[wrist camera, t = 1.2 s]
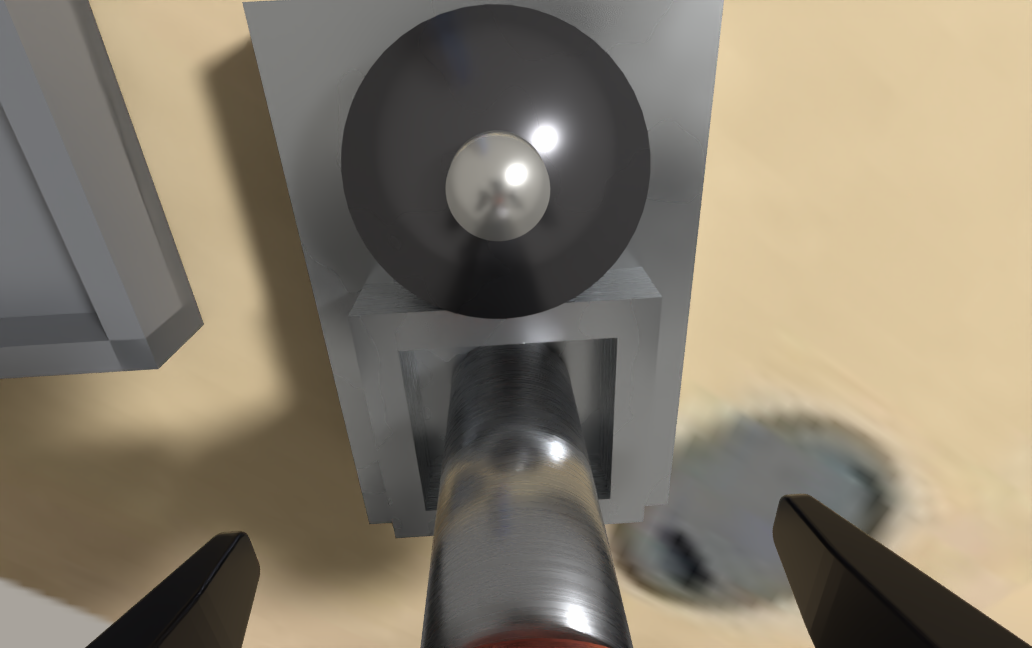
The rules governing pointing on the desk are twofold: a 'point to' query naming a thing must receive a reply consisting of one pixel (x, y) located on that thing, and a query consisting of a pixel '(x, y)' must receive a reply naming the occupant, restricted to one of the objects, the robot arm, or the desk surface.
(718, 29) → the tensioner block
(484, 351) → the lock pin
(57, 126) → the tray
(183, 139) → the desk surface
